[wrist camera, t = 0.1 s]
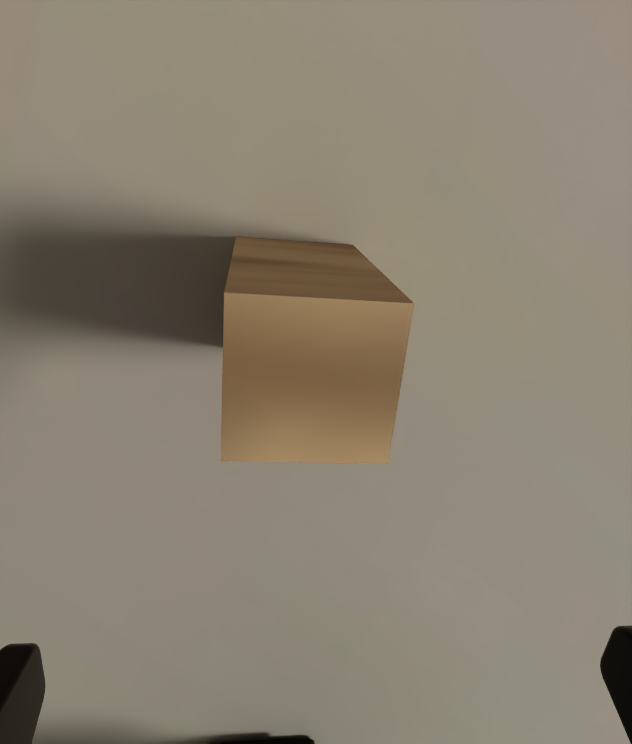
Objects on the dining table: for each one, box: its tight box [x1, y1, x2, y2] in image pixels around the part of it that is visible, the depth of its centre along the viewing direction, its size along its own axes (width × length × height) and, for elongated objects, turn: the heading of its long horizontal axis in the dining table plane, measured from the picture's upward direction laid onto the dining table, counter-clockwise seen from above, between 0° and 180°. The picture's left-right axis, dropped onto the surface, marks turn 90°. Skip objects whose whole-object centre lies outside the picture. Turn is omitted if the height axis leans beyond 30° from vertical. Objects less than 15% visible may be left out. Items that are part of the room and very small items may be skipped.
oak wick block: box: [221, 237, 414, 463], centre depth 17 cm, size 4×4×8 cm
